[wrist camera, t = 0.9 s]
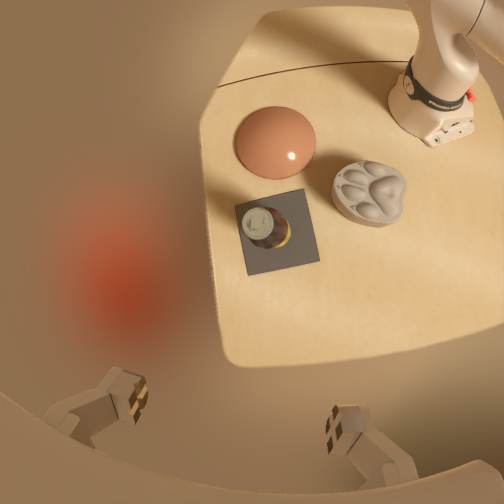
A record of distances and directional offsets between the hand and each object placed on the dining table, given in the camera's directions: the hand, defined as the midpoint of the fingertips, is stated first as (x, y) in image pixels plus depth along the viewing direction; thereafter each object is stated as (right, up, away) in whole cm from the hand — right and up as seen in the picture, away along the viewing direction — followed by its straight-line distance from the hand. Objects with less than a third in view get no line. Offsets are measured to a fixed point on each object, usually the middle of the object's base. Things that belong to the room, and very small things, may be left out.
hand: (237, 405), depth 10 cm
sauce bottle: (+5, +10, +43) cm, 44 cm away
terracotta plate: (+5, +28, +43) cm, 52 cm away
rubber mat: (+5, +10, +43) cm, 44 cm away
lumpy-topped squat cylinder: (+22, +17, +39) cm, 48 cm away
